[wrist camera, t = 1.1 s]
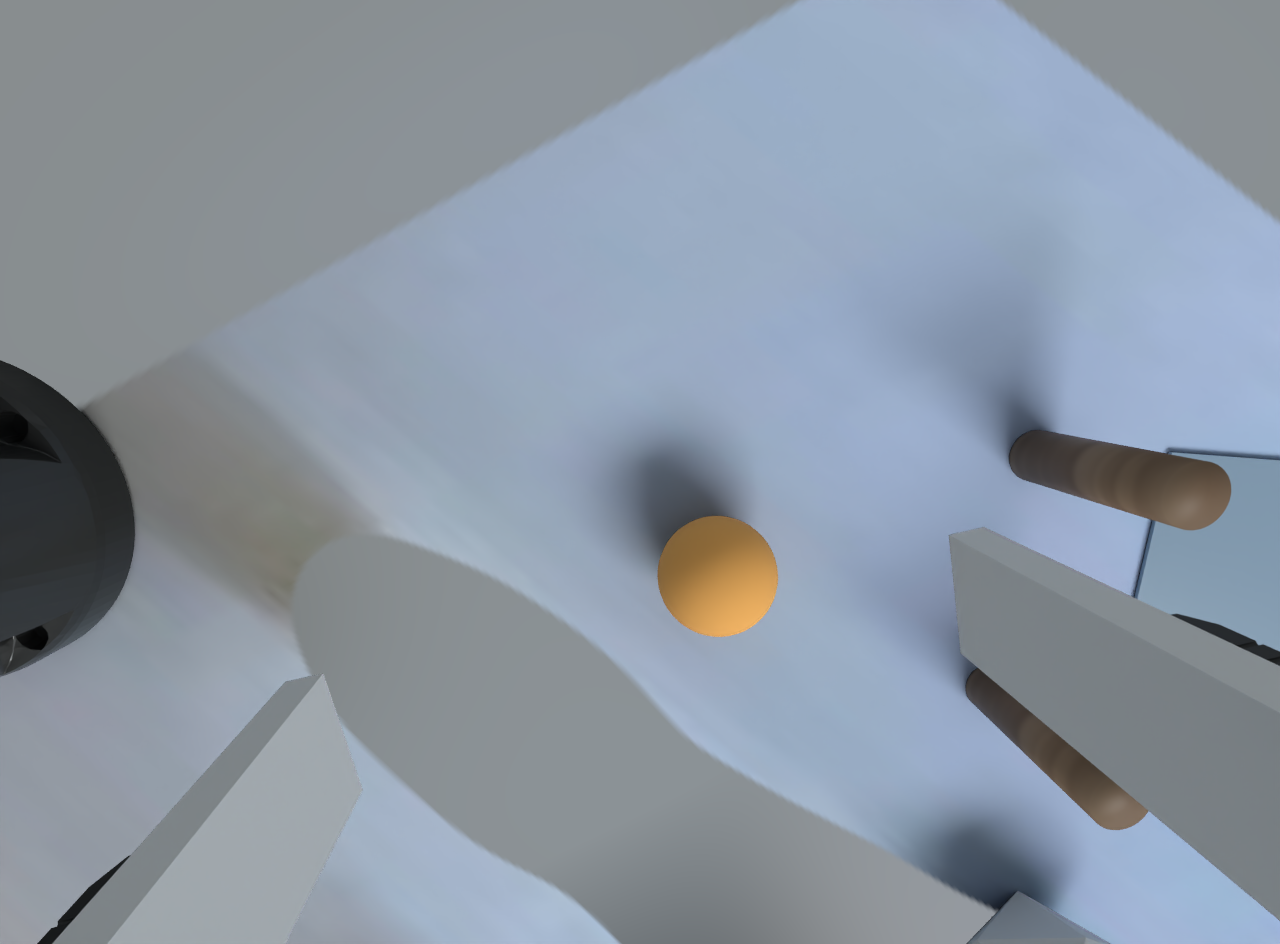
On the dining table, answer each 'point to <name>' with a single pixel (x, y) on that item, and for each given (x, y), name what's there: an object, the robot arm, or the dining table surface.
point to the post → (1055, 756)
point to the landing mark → (1223, 557)
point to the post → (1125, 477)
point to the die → (1031, 926)
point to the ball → (717, 576)
